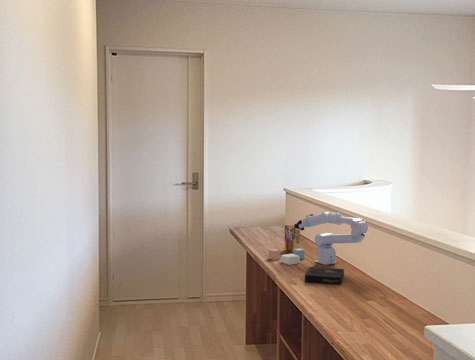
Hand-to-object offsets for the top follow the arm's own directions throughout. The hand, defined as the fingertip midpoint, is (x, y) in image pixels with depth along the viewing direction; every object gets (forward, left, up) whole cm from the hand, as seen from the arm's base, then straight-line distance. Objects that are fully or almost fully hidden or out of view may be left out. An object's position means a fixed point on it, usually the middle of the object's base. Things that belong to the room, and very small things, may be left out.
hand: (299, 223), depth 317 cm
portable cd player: (-47, +20, -19) cm, 55 cm away
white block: (-11, +14, -18) cm, 26 cm away
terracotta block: (+1, +16, -18) cm, 24 cm away
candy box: (+12, -4, -18) cm, 22 cm away
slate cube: (-5, +4, -18) cm, 19 cm away
